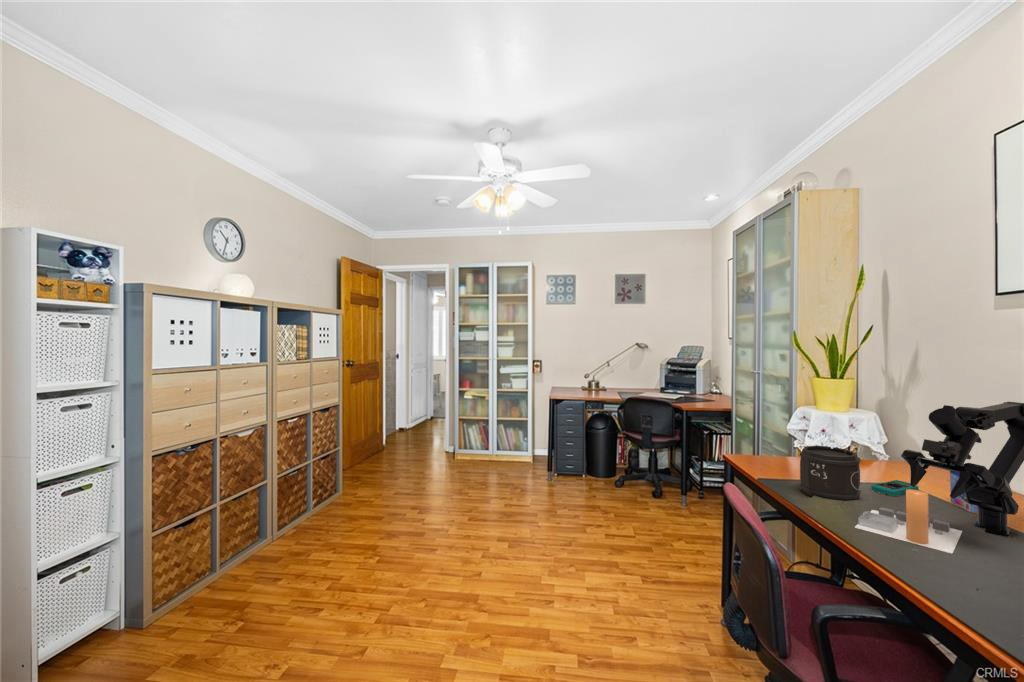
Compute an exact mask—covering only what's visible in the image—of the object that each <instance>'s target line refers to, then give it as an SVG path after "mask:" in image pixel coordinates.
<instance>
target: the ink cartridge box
mask: <svg viewBox="0 0 1024 682" xmlns="http://www.w3.org/2000/svg"><path fill="white" fill-rule="evenodd" d="M964 464H965V463H964ZM964 464H963V466H964ZM958 479H959V473H958V472H954V471H949V481H950V485H949V486H950V492H951V491H952V490H953V488H954V486H955V484H956V483H957V481H958ZM950 502H951V503H952V504H954V505H956V506H958V507H960V508H962V509H964V510H965V511H968V512H969V513H971V514H978V506H976V505H973V504H969V503H968V499H967V496H966V493H964V494H962V495H960V496H958V497H956V498H954V499H953V498H951V497H950Z"/></svg>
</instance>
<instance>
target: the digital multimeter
mask: <svg viewBox="0 0 1024 682" xmlns="http://www.w3.org/2000/svg"><path fill="white" fill-rule="evenodd" d="M871 489H872V490H874V491H873V492H875V491H878V492H880V493H879V494H881V493H883V494H882V495H884V494H887V495H886V496H888V495H891V496H890V497H893V496H895V497H899V496H903V495H906V490H907V489H913V490H919V486H918V484H917V485H916V486H915V487H912V486H911V485H910V482H907V481H903V480H898V479H893V480H890V481H884V482H879V483H874V484H871ZM871 489H870V490H871ZM872 490H871V491H872ZM878 492H877V493H878ZM902 494H903V495H902ZM898 495H899V496H898Z"/></svg>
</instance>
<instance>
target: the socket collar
mask: <svg viewBox="0 0 1024 682" xmlns="http://www.w3.org/2000/svg"><path fill="white" fill-rule="evenodd" d="M857 519H858V520H857V521H858V523H857V524H858V525H862V526H866V527H870V528H874V529H877V530H881V531H885V532H889V533H893V532H894V531H895V529H896V528H897V527H898V519H896V518H892V517H888V516H884V515H880V514H875V513H871V512H870V511H866V510H865V511H864V512H863V513H862V514H860V516H858V518H857Z"/></svg>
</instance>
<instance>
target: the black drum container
mask: <svg viewBox="0 0 1024 682" xmlns="http://www.w3.org/2000/svg"><path fill="white" fill-rule="evenodd" d="M799 457H800V460H799V474H800V475H799V479H800V483H799V487H800V488H801V489H802V493H803V494H806V495H807V496H808V497H810V498H813V497H814V496H818V497H822V498H824V499H832V500H842V501H848V500H849V501H850V500H858V499H859V498H860V495H861V493H862V491H861V490H860V486H861V469H860V464H861V462H862V461H861V458H860V457H858V453H857V452H855V451H852V450H849V449H845V448H841V447H840V448H839V447H833V448H832V447H831V446H825V445H807V446H804V447H803V448H802V450H801V452H799Z"/></svg>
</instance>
